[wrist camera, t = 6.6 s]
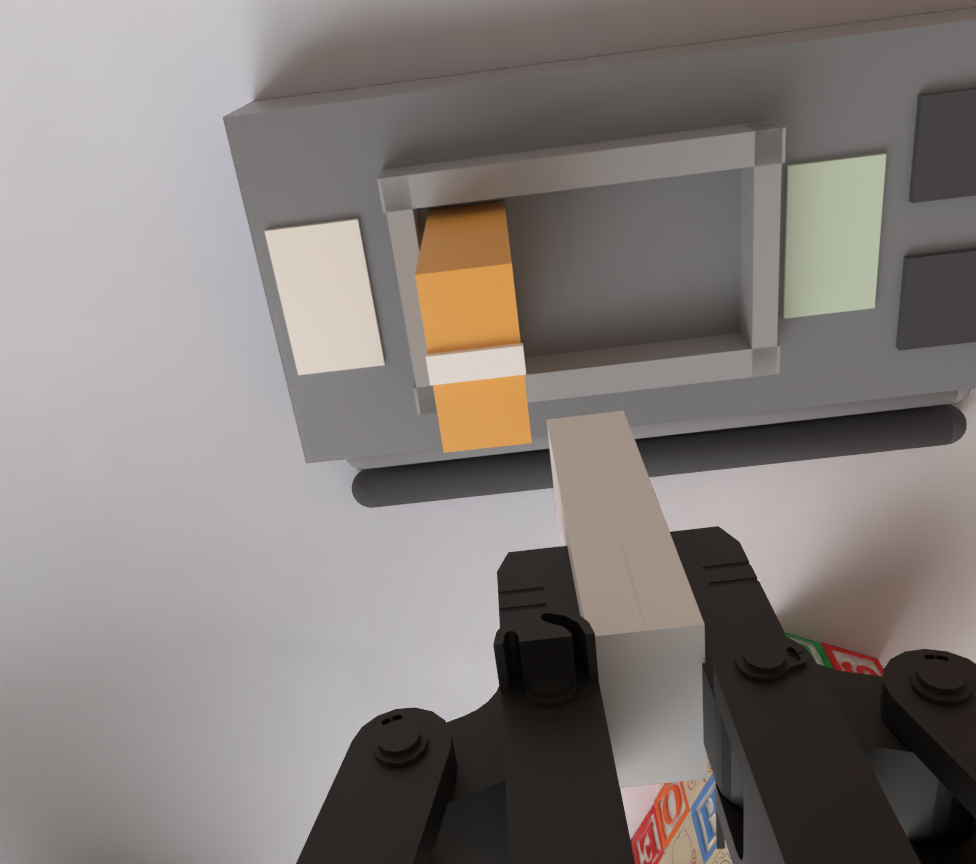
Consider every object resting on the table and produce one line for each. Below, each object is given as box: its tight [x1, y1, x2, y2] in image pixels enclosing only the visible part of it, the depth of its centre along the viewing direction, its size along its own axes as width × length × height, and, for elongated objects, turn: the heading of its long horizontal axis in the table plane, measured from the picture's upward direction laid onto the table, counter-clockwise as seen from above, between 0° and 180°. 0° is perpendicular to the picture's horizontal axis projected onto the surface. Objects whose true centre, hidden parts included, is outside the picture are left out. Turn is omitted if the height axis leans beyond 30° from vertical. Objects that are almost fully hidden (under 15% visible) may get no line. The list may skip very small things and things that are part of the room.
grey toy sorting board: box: [223, 7, 976, 463], centre depth 30 cm, size 26×12×6 cm, turn 97°
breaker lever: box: [415, 201, 532, 453], centre depth 26 cm, size 2×5×7 cm, turn 7°
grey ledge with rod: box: [346, 389, 971, 507], centre depth 36 cm, size 25×3×2 cm, turn 97°
